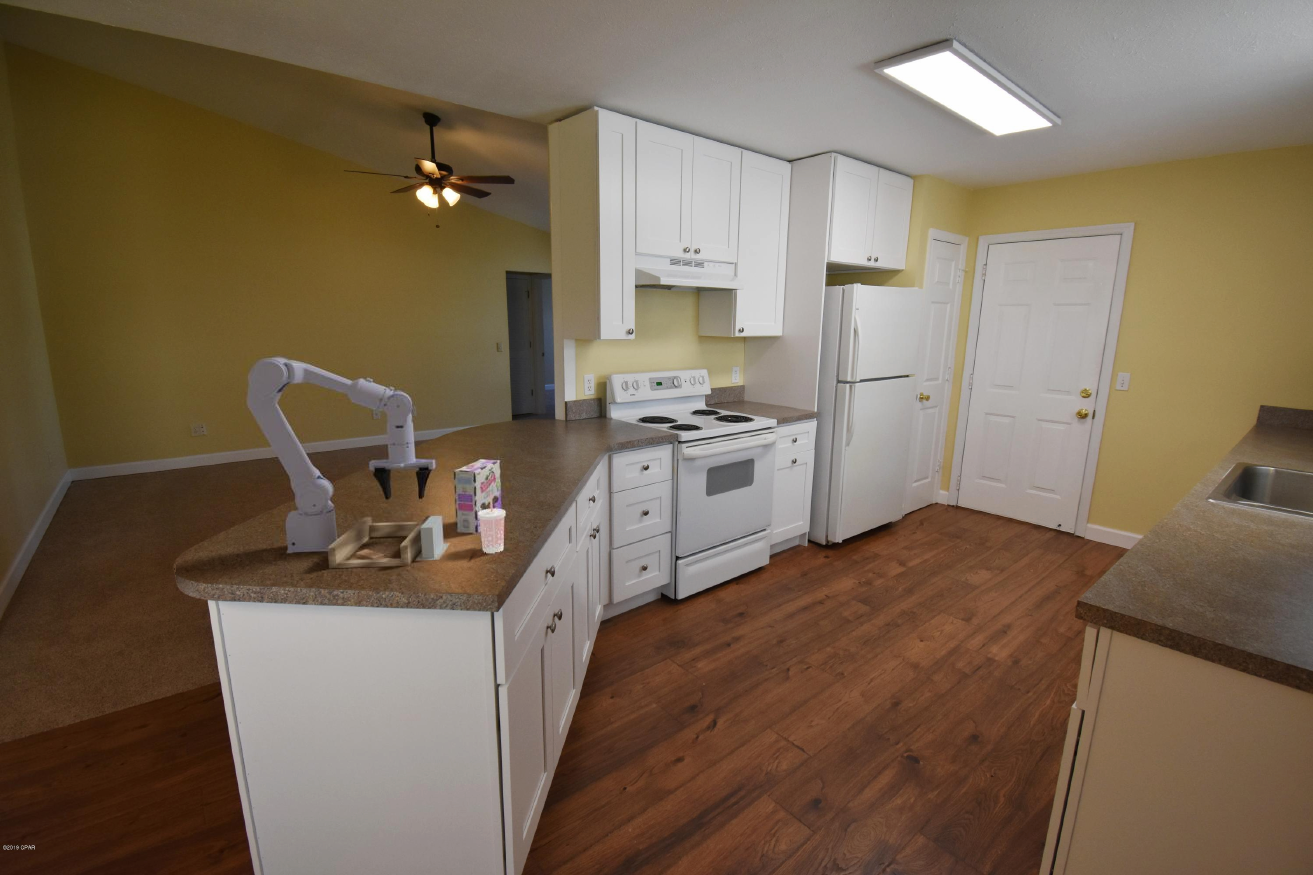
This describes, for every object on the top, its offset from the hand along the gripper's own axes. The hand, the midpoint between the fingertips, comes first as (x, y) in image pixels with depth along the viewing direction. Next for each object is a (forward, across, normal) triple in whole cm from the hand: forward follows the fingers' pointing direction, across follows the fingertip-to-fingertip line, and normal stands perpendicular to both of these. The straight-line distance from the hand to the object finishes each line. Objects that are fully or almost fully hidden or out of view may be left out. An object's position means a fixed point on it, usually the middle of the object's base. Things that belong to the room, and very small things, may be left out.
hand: (405, 498), depth 137 cm
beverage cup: (+10, +22, -10) cm, 26 cm away
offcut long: (+10, -3, -16) cm, 19 cm away
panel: (+9, +9, -11) cm, 17 cm away
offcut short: (+9, -3, -15) cm, 18 cm away
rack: (+10, -2, -9) cm, 14 cm away
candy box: (+10, +16, +7) cm, 20 cm away
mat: (+10, +9, -12) cm, 18 cm away
